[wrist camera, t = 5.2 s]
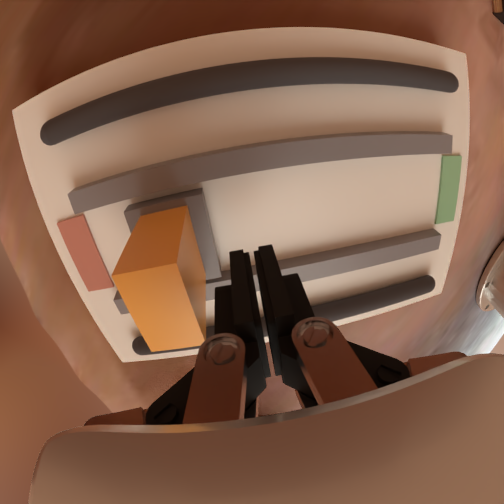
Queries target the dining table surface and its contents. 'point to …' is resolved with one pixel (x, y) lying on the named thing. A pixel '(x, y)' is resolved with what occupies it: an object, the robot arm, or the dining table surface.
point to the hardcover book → (499, 9)
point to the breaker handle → (168, 269)
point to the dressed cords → (248, 79)
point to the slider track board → (262, 169)
